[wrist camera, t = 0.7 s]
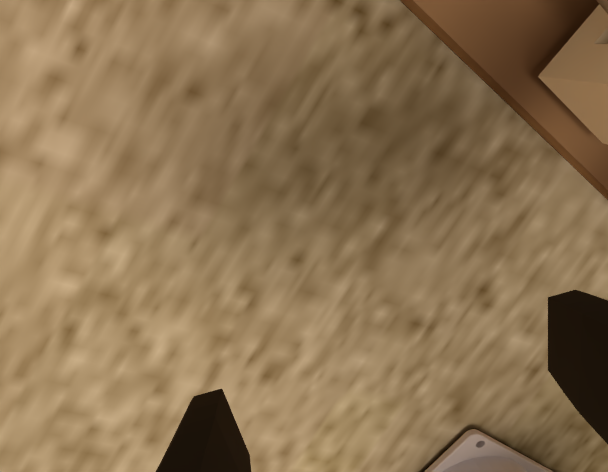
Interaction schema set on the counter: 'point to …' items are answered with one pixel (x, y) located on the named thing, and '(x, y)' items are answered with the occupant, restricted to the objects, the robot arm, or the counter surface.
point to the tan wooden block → (584, 74)
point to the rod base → (522, 64)
